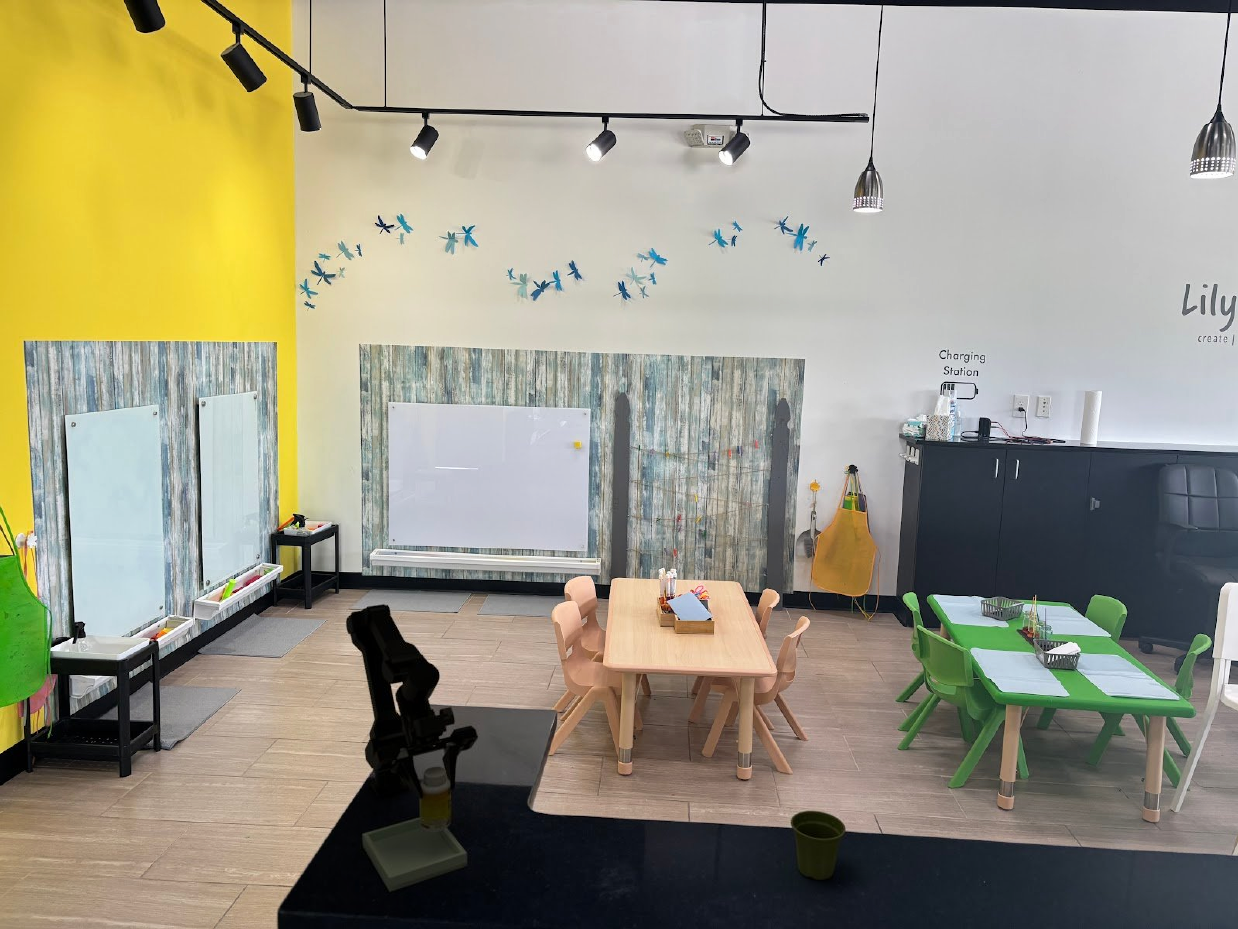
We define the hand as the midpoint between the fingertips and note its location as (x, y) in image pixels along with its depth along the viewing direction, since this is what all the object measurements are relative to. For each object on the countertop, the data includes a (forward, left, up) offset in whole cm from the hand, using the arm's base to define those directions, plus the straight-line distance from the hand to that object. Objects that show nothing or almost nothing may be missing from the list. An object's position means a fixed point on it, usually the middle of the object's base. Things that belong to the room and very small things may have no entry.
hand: (437, 793), depth 154 cm
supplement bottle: (-1, 0, -7) cm, 7 cm away
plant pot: (+39, +55, -12) cm, 69 cm away
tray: (-3, -4, -12) cm, 13 cm away
